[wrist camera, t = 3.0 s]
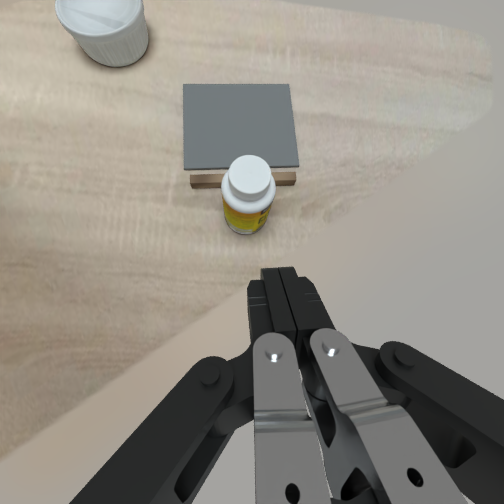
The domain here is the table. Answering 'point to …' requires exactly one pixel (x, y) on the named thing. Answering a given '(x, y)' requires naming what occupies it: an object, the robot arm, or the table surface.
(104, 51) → the ramekin
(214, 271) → the table surface
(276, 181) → the rail
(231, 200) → the supplement bottle
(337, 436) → the robot arm
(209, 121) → the mat
